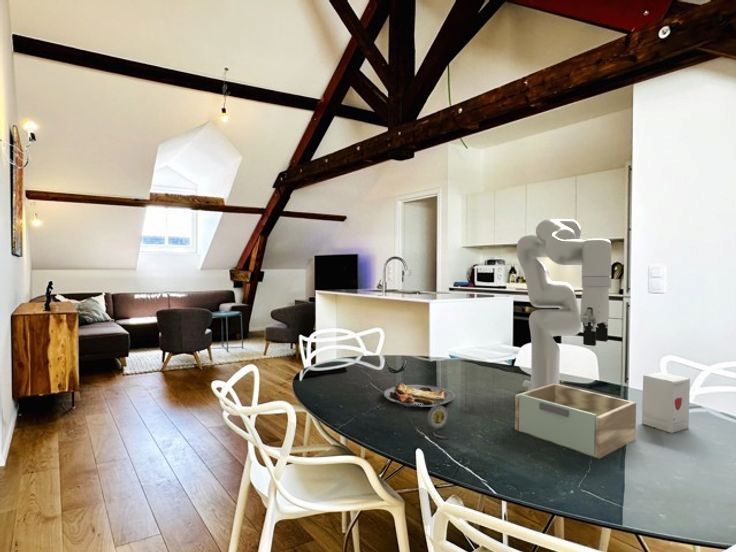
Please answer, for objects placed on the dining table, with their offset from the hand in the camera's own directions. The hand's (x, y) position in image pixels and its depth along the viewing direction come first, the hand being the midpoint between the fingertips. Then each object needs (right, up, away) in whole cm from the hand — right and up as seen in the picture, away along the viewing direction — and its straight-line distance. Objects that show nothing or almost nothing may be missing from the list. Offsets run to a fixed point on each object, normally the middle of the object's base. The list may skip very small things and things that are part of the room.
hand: (595, 343), depth 130 cm
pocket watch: (-43, -26, +1) cm, 51 cm away
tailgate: (-15, -25, -8) cm, 31 cm away
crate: (-7, -26, -2) cm, 27 cm away
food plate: (-47, -25, +33) cm, 63 cm away
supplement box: (+24, -26, +6) cm, 36 cm away
